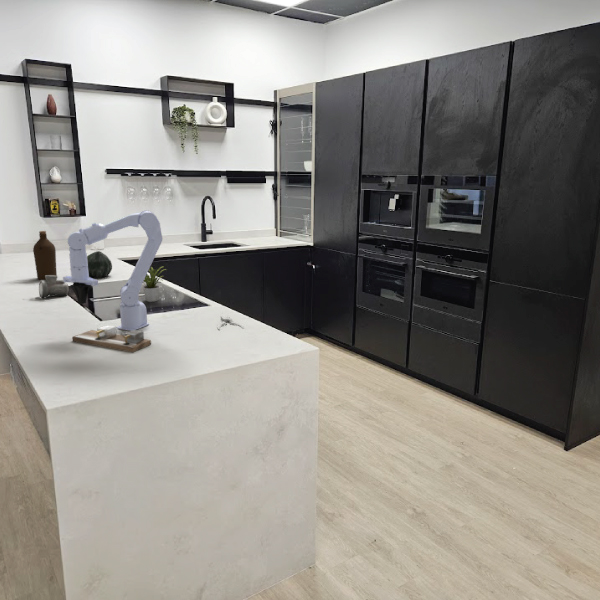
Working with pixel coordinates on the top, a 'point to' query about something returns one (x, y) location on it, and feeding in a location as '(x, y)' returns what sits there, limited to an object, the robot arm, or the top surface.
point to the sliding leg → (106, 331)
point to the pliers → (228, 321)
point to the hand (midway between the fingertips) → (82, 303)
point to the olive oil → (44, 257)
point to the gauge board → (115, 340)
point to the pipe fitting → (52, 286)
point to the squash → (99, 264)
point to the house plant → (152, 285)
